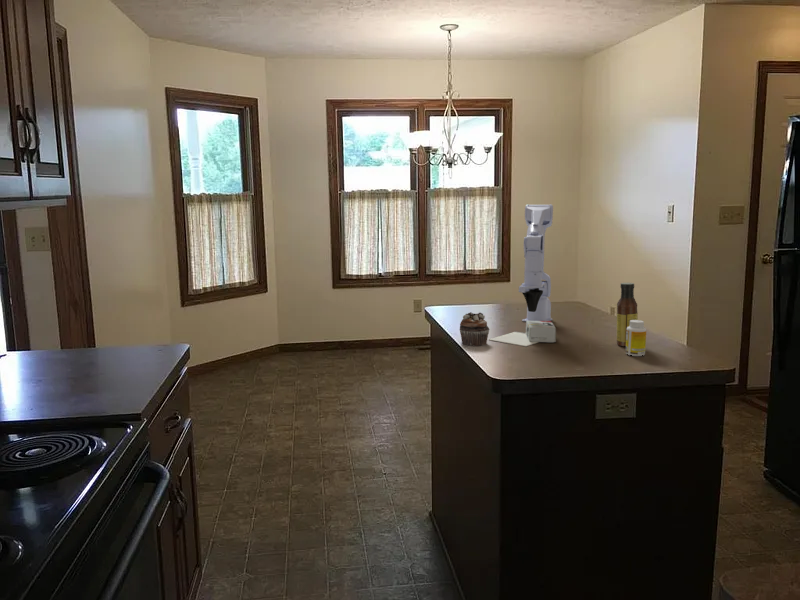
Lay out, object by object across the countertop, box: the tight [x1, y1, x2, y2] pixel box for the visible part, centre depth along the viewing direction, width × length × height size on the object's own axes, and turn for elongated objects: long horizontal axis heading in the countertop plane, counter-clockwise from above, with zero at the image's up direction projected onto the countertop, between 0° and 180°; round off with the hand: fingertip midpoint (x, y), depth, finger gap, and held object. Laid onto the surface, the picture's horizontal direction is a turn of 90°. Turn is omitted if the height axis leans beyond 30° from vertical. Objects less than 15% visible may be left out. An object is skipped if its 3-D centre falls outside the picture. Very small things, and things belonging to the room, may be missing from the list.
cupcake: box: [459, 311, 490, 347], centre depth 208 cm, size 10×10×10 cm
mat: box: [488, 331, 539, 347], centre depth 214 cm, size 16×14×1 cm
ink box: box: [525, 320, 557, 343], centre depth 214 cm, size 9×5×12 cm
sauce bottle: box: [616, 282, 639, 348], centre depth 203 cm, size 7×6×20 cm
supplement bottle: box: [625, 319, 647, 357], centre depth 192 cm, size 6×6×10 cm
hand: (532, 311), depth 218 cm, fingers closed
